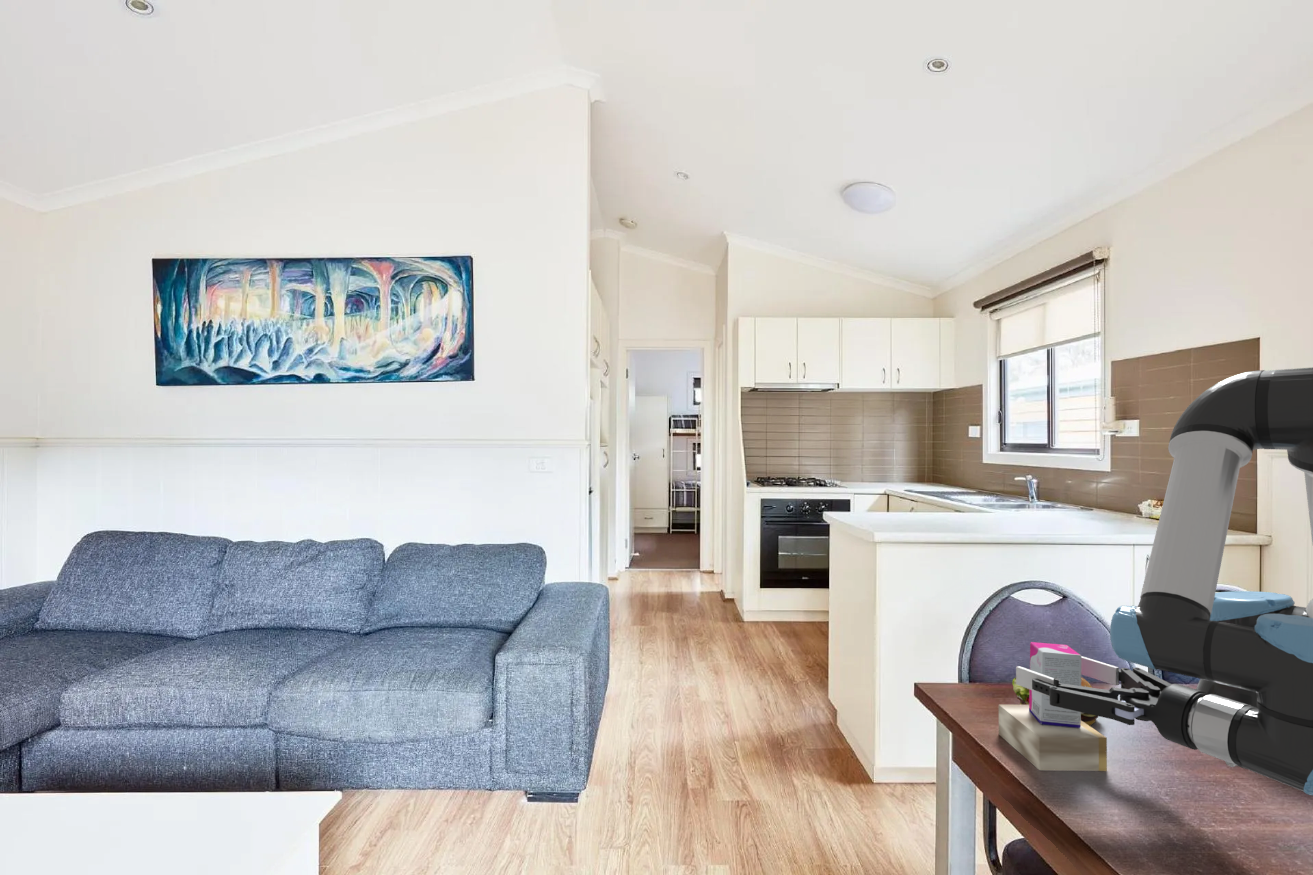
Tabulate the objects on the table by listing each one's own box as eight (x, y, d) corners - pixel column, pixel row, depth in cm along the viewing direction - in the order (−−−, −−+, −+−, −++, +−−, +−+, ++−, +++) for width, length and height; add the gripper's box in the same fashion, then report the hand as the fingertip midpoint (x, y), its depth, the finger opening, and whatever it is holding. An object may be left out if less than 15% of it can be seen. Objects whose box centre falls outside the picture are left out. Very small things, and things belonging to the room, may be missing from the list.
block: (1106, 770, 97) (1106, 737, 97) (1039, 770, 97) (1039, 737, 97) (1058, 734, 109) (1058, 704, 109) (998, 734, 109) (998, 704, 109)
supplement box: (1082, 729, 100) (1082, 654, 100) (1040, 725, 101) (1040, 652, 101) (1067, 713, 105) (1067, 643, 105) (1027, 710, 107) (1027, 640, 107)
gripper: (1144, 770, 79) (991, 705, 98) (1256, 733, 88) (1098, 680, 108) (1143, 708, 79) (991, 655, 98) (1256, 678, 88) (1097, 636, 108)
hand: (1047, 668), depth 103 cm, fingers open, 13 cm apart
